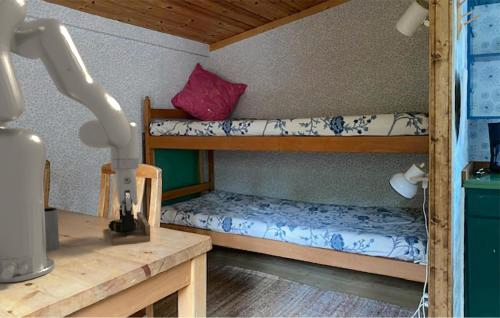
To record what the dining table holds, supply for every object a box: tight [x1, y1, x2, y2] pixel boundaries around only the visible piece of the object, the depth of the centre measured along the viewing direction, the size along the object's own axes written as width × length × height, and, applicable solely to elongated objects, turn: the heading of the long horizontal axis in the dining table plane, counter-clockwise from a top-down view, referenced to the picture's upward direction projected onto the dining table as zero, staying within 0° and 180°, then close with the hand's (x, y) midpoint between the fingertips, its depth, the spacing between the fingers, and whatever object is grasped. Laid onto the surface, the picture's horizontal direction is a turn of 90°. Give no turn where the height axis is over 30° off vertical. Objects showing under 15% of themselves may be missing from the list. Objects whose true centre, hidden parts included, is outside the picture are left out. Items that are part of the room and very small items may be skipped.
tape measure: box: [108, 217, 138, 234], centre depth 107 cm, size 7×7×4 cm
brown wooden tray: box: [107, 211, 151, 246], centre depth 111 cm, size 19×10×4 cm, turn 24°
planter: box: [44, 207, 60, 251], centre depth 99 cm, size 4×4×10 cm
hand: (126, 225), depth 107 cm, fingers closed on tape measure, 7 cm apart
